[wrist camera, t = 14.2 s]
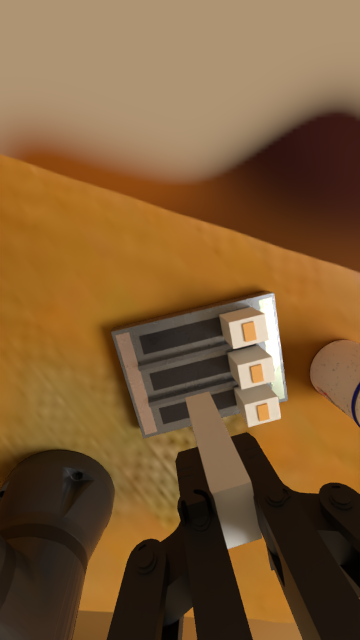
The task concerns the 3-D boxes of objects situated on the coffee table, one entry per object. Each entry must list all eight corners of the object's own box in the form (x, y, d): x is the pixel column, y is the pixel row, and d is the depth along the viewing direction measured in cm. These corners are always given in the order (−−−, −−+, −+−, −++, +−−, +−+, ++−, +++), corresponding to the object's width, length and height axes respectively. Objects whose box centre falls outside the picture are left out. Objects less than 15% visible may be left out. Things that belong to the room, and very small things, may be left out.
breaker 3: (237, 407, 34) (249, 428, 30) (233, 387, 33) (245, 406, 29) (266, 400, 34) (281, 419, 30) (263, 380, 33) (278, 397, 29)
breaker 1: (223, 337, 31) (234, 349, 27) (219, 314, 30) (229, 323, 26) (254, 330, 31) (269, 340, 27) (251, 306, 31) (266, 314, 26)
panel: (143, 428, 35) (143, 442, 33) (113, 327, 32) (109, 334, 29) (280, 392, 36) (291, 403, 34) (266, 290, 33) (276, 293, 30)
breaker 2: (231, 374, 32) (242, 390, 28) (226, 352, 32) (237, 366, 28) (261, 366, 33) (276, 381, 28) (257, 344, 32) (273, 357, 28)
